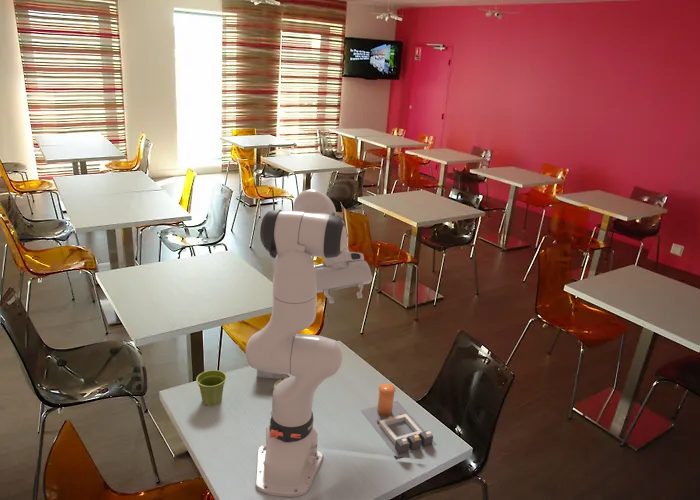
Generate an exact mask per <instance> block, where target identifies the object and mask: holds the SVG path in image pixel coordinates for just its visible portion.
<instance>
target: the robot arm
mask: <svg viewBox="0 0 700 500" xmlns="http://www.w3.org/2000/svg"><path fill="white" fill-rule="evenodd" d="M336 210H337V209H336V207H335V204H334V203H333V201H332V200H331V198H329V196H328V195H326V193H324V192H322V191H320V190H318V189H312V188H311V189H305V190H303V191H301V192H300V193H299V194H298V195H297V196H296V197H295V200H294V202H293V210H282V209H274V210H272V209H271V210H269V211H267V212H266V213H265V214H264V215H263V217H262V219H261V222H260V227H259V237H260V242H261V244H262V246H263V247H264V248H265V250H266V251H267V252H268V253H269V255H270V257H271V258H273V259H276V258H277V259H276V262H275V265H274V271H273V277H272V278H273V279H272V305H271V316H270V317H269V318H270V319H269V321H268V323H266V325H265V326H264V327H262V328H261V329H260V330H258V331H256V332H255V333H253V334H252V335H251V336H250V338H249V340H248V341H247V343H246V345H245V358H246V361H247V363H248V365H249V366H250V367H251V368H253V369H254V370H255V369H256V370H257V369H258V370H261V371H264V372H268V373H278V374H287V376H288V375H290V376H288V377H289V378H286V379H284V380H282V381H281V382H280V383H278V384H277V385H276V387H275V388H274V387H273V390H272V393H271V394H272V400H271V401H272V402H271V412H270V416H269V424H268V425H267V426H266V427H265V431H266V432H265V433H266V434H265V444H263V445H261V446H260V447H258V450H257V460H256V462H257V463H256V473H255V474H256V476H255V488H256V489H257V490H258V491H260V492H261V493H263V494H267V495H271V496H277V497H287V498H288V497H299V496H303V495H306V494H307V493H308V491H309V490H310V487H311V485H312V483H313V481H314V479H315V477H316V474H317V473H318V470H319V468H320V467H321V464H322V462H323V460H324V454H323V453H322V452H321V451H320V450H318V446H319V445H318V440H319V439H318V438H319V435H318V431H317V430H316V429H315V427H314V413H313V404H314V403H313V402H314V396H315V392H316V391H317V389H318V388H319V386H320V385H321V384H322V383H323V382H324V381H326V380H328V379H329V378H331V377H333V376H334V375H336V374H337V373H338V372H339V369H340V368H341V365H342V362H343V352H342V351H343V350H342V347H341V346H340V343H338V341H337V340H335V339H333V338H328V337H326V336H323V335H315V334H306V333H305V334H304V333H300V332H302V331H304V330H306V329H307V328H309V327H310V326H311V325H312V324H313V323H314V322H315V320H316V317H317V295H318V294H319V293H324V296H325V297H326V299H328V303H329V304H334V303H335V300H334V296H331V295H330V294H329V292H331V291H335V290H341V289H346V288H351V287H352V288H353V287H358V289H359V291H356V297H357V299H362V298H363V294H362V291H363V289H364V286H365V285H368V284H371V282H372V281H373V274H372V272H371V271H372V270H371V268H370V265H369V263H368V262H367V261H366V260H365V256H364V253H361V252H355V251H350V250H349V248H348V246H347V239H348V238H349V235H348V230H347V226H346V222H345V219H344V218H343V217H341V216H339V215H337V211H336ZM313 257H315V258H318V257H319V258H322V257H323V261H324V263H321V264H317V265H316V264H315V262H314V261H315V260H314V258H313Z"/></svg>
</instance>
